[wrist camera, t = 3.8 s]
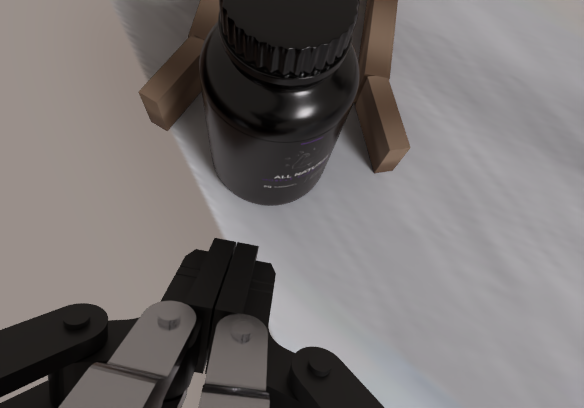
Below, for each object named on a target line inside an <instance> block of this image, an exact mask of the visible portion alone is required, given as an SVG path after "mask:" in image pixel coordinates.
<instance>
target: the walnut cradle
mask: <svg viewBox="0 0 584 408" xmlns="http://www.w3.org/2000/svg"><path fill="white" fill-rule="evenodd" d="M397 3H398V0H367V5H366V12H365V19H364V26H363V33H362V40H361V47H360V54H359V61H358V64H359V72H360V75H359V86H358V90H357V94H356V97H355V100H354V102H353V103H356V105H355V107H356V111H357V114H358V118H359V121H360V125H361V128H362V132H363V135H364V139H365V142H366V146H367V149H368V153H369V156H370V160H371V163H372V167H373V170H374V173H379V172H386V171H393V169H394V168H395V167H396V165H397V164H398V163H399V162H400V160H401V159H402V158H403V157H404V155H405V154H406V153H407V152H408V150H409V149H410V145H409V141H408V138H407V135H406V132H405V129H404V126H403V123H402V120H401V117H400V114H399V111H398V107H397V104H396V101H395V98H394V95H393V92H392V89H391V86H390V83H389V79H390V70H391V60H392V51H393V41H394V32H395V22H396V13H397ZM219 10H220V9H219V0H200V3H199V6H198V9H197V12H196V15H195V18H194V21H193V24H192V26H191V29H190V32H189V35H188V39H187V40H186V41H185V42H184V43H183V44H182V45H181V47H180V48H179V49H178V50H177V51H176V52H175V53H174V54H173V55H172V56H171V57H170V58H169V59H168V61H167V62H166V63H165V64H164V65H163V66H162V67H161V68H160V69H159V70H158V71H157V72H156V74H155V75H154V76H153V77H152V78H151V79H150V80H149V81H148V82H147V83H146V84H145V85H144V87H143V88H142V89H141V90H140V91H139V94H140V96H141V99H142V101H143V103H144V106H145V108H146V111H147V113H148V115H149V118H150V120H151V122H153V123H154V124H156V125H158V126H159V127H161V128H163V129H165V130H166V131H168V130H169V129H170V127H171V126H172V125H173V124H174V123H175V122H176V120H177V119H178V118H179V117H180V116H181V115H182V113H183V112H184V111H185V110H186V109H187V107H188V106H189V105H190V104H191V103H192V102H193V100H194V99H195V98H196V97H197V96H198V95H199V93H200V92H201V91H202V90H201V83H200V74H199V59H200V53H201V49H202V46H203V43H204V41H205V39H206V37H207V35H208V33H209V32H210V30H211V29H212V27H213V26H214V25H215V24H216V22H217V21H218V16H219Z"/></svg>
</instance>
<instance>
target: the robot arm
mask: <svg viewBox="0 0 584 408" xmlns="http://www.w3.org/2000/svg"><path fill="white" fill-rule="evenodd" d="M258 247H259V246H255V245H250V244H244V243H239V242H238V243H237V245H236V242H234V241H229V240H223V239H218V238H215V239H214V240H213V243H212V245H211V247H210V249H209V251H203V250H198V249H196V250H194V251H193V252H191V253H190V254H188V255H186V256H185V258H184V260H183V261H182V263H181V265H180V268H179V269H178V271H177V272H176V275H175V276H174V278H173V280H172V282H171V283H170V285H169V287H168V289H167V291H166V293H165V294H164V296H163V298H162V300H161V302H158V303H155V304H153V305H151V306H150V307H148V308H147V309H146V310H145V311H144V312H143V314H142V315H141V317H139V318H136V319H129V320H112V321H108V316H107V313H106V312H105V311H104V310H103V309H102V308H100V307H99V306H96V305H92V304H73V305H68V306H66V307H62V308H60V309H57V310H55V311H51V312H49V313H46V314H43V315H41V316H38V317H35V318H32V319H30V320H27V321H24V322H21V323H19V324H16V325H13V326H10V327H8V328H5V329H2V330H0V397H2V396H4V395H6V394H9V393H11V392H13V391H15V390H17V389H19V388H21V387H23V386H25V385H28V384H29V383H32V382H34V381H36V380H38V379H40V378H43V377H45V376H47V375H48V381H46V382H44V383H42V384H39V385H37V386H35V387H33V388H31V389H29V390H27V391H25V392H23V393H21V394H19V395H17V396H15V397H13V398H10V399H8V400H6V401H4V402H2V403H0V408H181V407H182V405H183V403H184V400H185V398H186V395H187V388H188V387H189V385H190V382H191V379H192V376H193V373H194V372H198V373H203V371H204V368H205V365H206V362H207V365H206V373H205V374H206V379H205V384H204V385H203V389H202V393H201V398H200V402H199V407H198V408H384V407H383V406H382V404H381V403H380V402H379V401H378V400H377V399H376V398H375V397H374V396H373V395H372V394H371V393H370V391H369V390H368V389H367V388H366V387H365V386H364V385H363V384H362V383H361V382H360V381H359V379H358V378H357V377H356V376H355V375H354V374H353V373H352V372H351V371H350V370H349V369H348V368H347V366H346V365H345V364H344V363H343V362H342V361H341V360H340V359H339V358H338V357H337V356H336V355H335V354H333V353H332V352H330V351H328V350H326V349H323V348H320V347H306V348H302V349H300V350H299V351H297V352H296V353H294V352H291V351H289V350H287V349H285V348H283V347H282V346H280V345H279V344H278V343H277V342H275V340H274V339H273V338H272V337H271V335H270V333H269V329H268V323H269V316H270V309H271V303H272V296H273V289H274V282H275V275H276V273H275V271H274V269H273V267H272V265H271V263H266V262H260V261H256V258H257V253H258Z"/></svg>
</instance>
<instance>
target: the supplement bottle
mask: <svg viewBox="0 0 584 408" xmlns="http://www.w3.org/2000/svg"><path fill="white" fill-rule="evenodd" d="M358 7H359V1H358V0H219V9H220V10H219V16H218V21H217V22H216V24H215V25H214V26H213V27H212V29H211V30H210V32H209V33H208V35H207V37H206V39H205V41H204V43H203V46H202V49H201V53H200V59H199V74H200V83H201V90H202V96H203V103H204V109H205V116H206V122H207V129H208V135H209V142H210V148H211V154H212V159H213V164H214V167H215V170H216V172H217V174H218V176H219V178H220V179H221V181H222V182H223V183H224V185H225V186H226V187H227V188H228V189H229V190H230V191H232V192H233V193H234V194H235V195H237V196H238V197H240V198H242V199H244V200H246V201H249V202H251V203H255V204H259V205H268V206H274V205H282V204H286V203H290V202H293V201H295V200H297V199H299V198H301V197H302V196H304V195H305V194H307V193H308V192H309V191H310V190H311V189H312V188H313V187H314V186H315V185H316V183H317V182H318V180H319V179H320V177H321V175H322V173H323V171H324V169H325V167H326V164H327V162H328V160H329V157H330V155H331V153H332V151H333V148H334V146H335V144H336V141H337V139H338V137H339V135H340V132H341V130H342V128H343V125H344V123H345V121H346V119H347V116H348V114H349V112H350V109H351V107H352V105H353V102H354V100H355V97H356V94H357V90H358V86H359V75H360V72H359V64H358V59H357V55H356V52H355V49H354V47H353V45H352V43H351V40H352V32H353V30H354V27H355V24H356V21H357V17H358Z"/></svg>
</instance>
